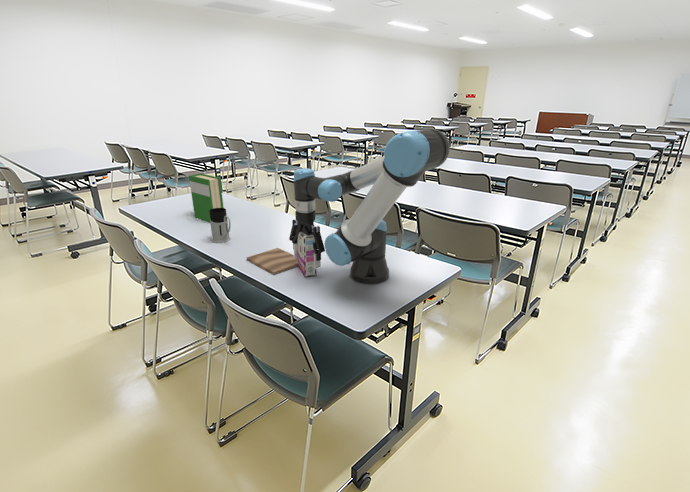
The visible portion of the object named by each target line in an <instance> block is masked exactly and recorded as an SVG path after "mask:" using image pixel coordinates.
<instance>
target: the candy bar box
mask: <svg viewBox="0 0 690 492" xmlns="http://www.w3.org/2000/svg"><path fill="white" fill-rule="evenodd" d="M311 234H313V233H311ZM297 242H298V266H297V267H298V268H299V270H300V272H301V273H302V274H303V275H304V278H307V277H315V276H317V268H316V269H315V268H314V252H315V251H314V248H313V242H314V243H316V242H315V238H314V235H310V236H308V235H306V234H305V233H302V232H301V231H300V232H299V235H298V240H297Z"/></svg>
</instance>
